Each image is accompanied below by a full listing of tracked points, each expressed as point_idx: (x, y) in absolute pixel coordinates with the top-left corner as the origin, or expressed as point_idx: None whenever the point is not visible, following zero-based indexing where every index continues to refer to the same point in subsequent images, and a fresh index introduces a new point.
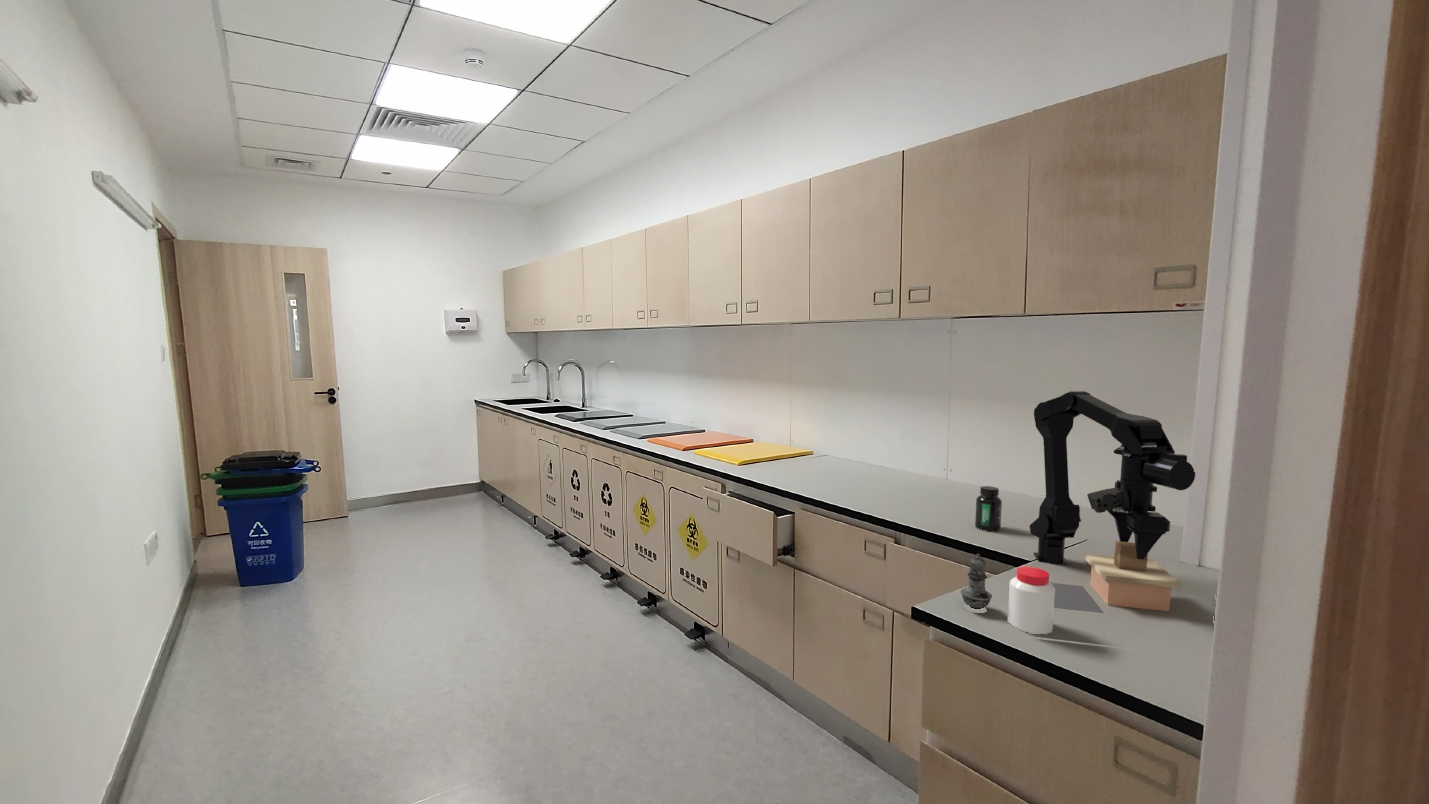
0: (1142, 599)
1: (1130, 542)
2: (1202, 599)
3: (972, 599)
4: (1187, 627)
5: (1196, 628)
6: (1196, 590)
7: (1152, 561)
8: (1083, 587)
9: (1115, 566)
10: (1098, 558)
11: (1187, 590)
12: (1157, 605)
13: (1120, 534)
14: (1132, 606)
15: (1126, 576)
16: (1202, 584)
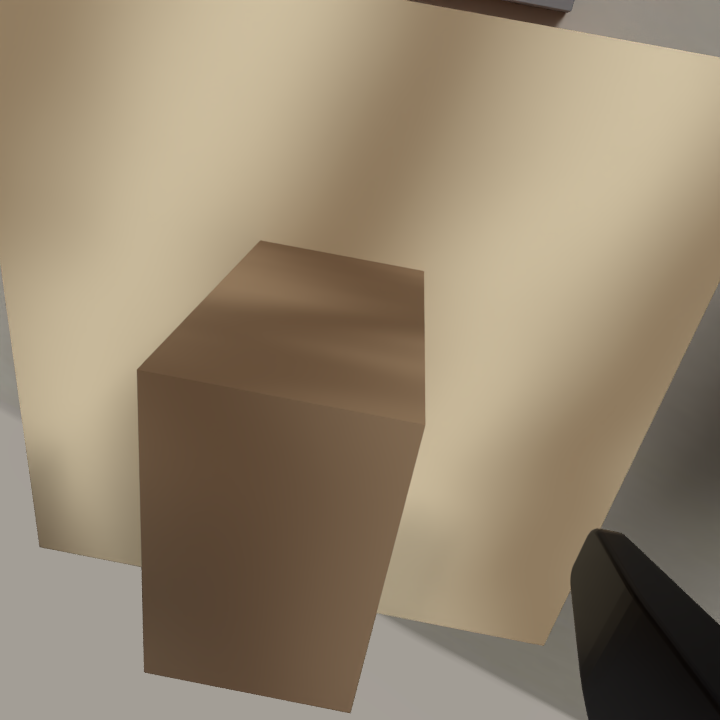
0: None
1: (369, 605)
2: (394, 620)
3: None
4: (11, 369)
5: (15, 403)
6: (505, 659)
7: (499, 625)
8: (534, 1)
9: (333, 240)
10: (616, 176)
11: None
12: None
13: (664, 658)
14: None
15: (23, 191)
16: (578, 716)
